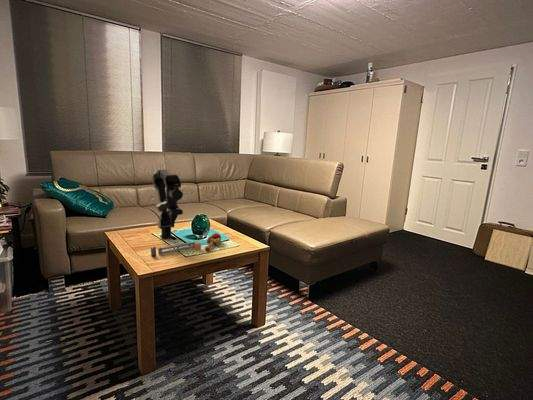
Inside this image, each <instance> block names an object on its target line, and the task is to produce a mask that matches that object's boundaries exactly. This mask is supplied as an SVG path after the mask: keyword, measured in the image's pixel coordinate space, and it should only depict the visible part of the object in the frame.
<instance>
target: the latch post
mask: <svg viewBox="0 0 533 400" xmlns="http://www.w3.org/2000/svg"><path fill="white" fill-rule="evenodd" d="M193 242H194V248H193V250H194V251H195V252H198V251H201V250H202V242H200V241H193Z"/></svg>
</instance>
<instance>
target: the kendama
mask: <svg viewBox="0 0 533 400" xmlns="http://www.w3.org/2000/svg"><path fill="white" fill-rule="evenodd" d="M221 239H222V236H221V234H220V233H217V232H216V233H212V235H211V236H210V235H209V236H208V237H207V239H206V244H207V246H206V247H205V248H204V251H205V252H206V253H210V251H211V250H212V247H213V245H215V247H219V246H220V245H221V241H222V240H221Z"/></svg>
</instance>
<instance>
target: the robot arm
mask: <svg viewBox="0 0 533 400" xmlns="http://www.w3.org/2000/svg"><path fill="white" fill-rule="evenodd" d="M151 183H152V185H153V188H154V189H155V190H156V191H157V195H158V200H159V202H158V204H155V207H156V209H157V211H158V212H159V213H160V215H159V219H158V222H157V227H158V229H159V230H160V231H161V233H160V235H159V237H160V238H161V239H162V240H163V239H164V240H165V239H171V238H174V236H173V234H172V228H175V224H176V223H175V222H176V221H177V219H178V218H177V217H179V215H183V214H184V213H183V212H184V210H182V209H181V208H180V206H179V205H178V202H179V201H180V200H181V199H182V198H183V195H184V194H183V192H182V190H181V189H180V188H182V183H181V180H180V177H179V176H178V175H177V174H175V173H174V174H171V173H170V172H168V171H167V170H166V169H159V170H157V171H156V173H154V174H153V175H152V178H151Z"/></svg>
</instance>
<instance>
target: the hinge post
mask: <svg viewBox="0 0 533 400" xmlns="http://www.w3.org/2000/svg"><path fill="white" fill-rule="evenodd" d="M150 256H151V257H152V258H155V257H157V247H156V246H151V247H150Z"/></svg>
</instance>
